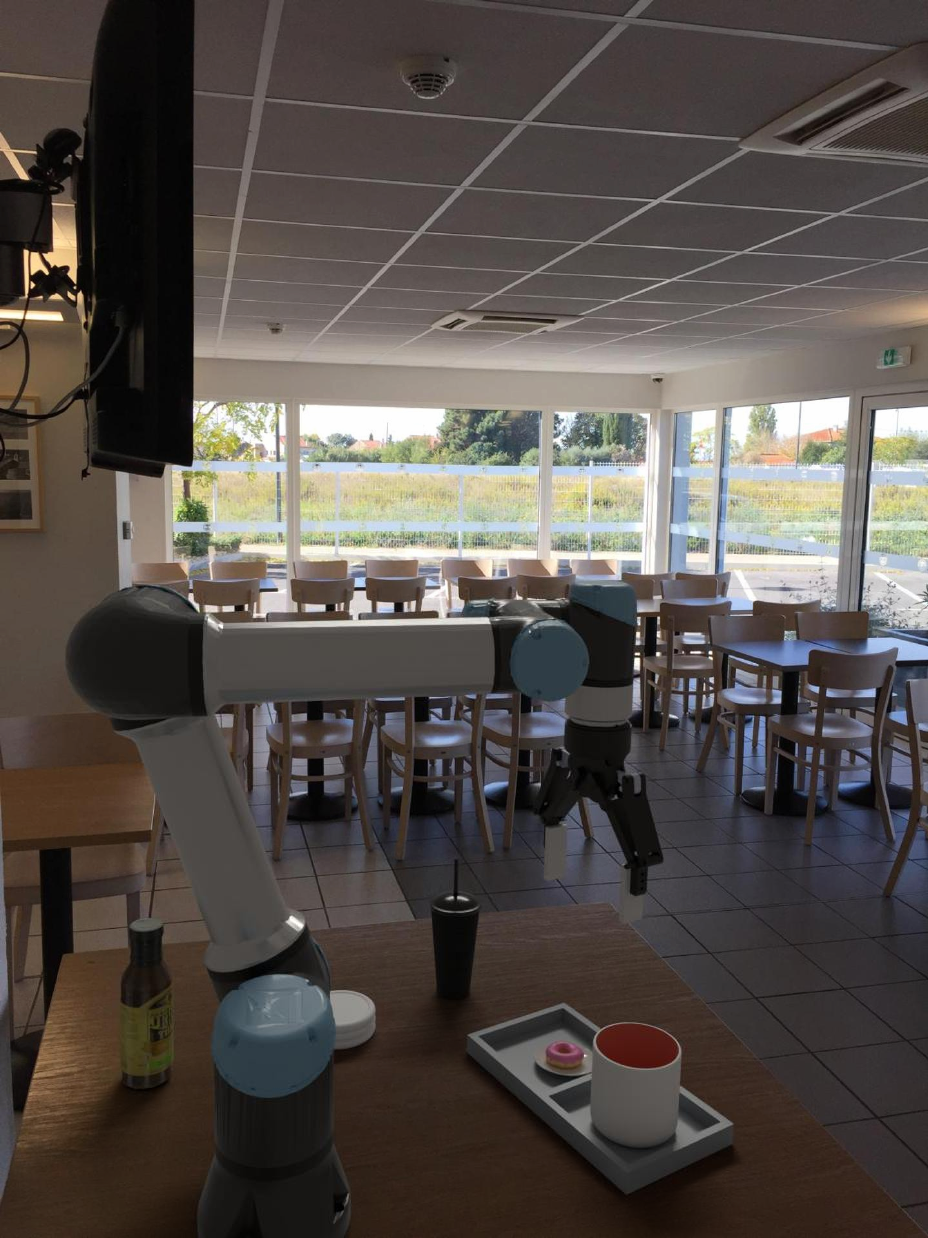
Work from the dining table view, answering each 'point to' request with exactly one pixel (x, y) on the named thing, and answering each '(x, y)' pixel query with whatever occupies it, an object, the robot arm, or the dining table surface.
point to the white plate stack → (352, 1018)
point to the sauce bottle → (146, 1009)
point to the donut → (564, 1059)
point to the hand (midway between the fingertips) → (590, 898)
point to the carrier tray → (570, 1096)
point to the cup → (635, 1084)
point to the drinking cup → (454, 938)
